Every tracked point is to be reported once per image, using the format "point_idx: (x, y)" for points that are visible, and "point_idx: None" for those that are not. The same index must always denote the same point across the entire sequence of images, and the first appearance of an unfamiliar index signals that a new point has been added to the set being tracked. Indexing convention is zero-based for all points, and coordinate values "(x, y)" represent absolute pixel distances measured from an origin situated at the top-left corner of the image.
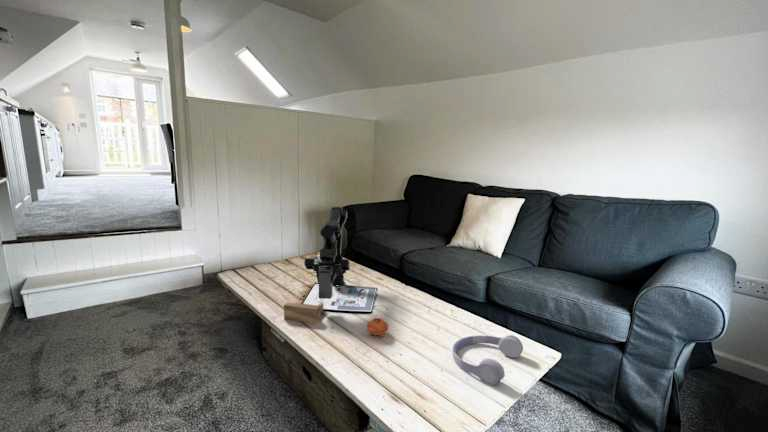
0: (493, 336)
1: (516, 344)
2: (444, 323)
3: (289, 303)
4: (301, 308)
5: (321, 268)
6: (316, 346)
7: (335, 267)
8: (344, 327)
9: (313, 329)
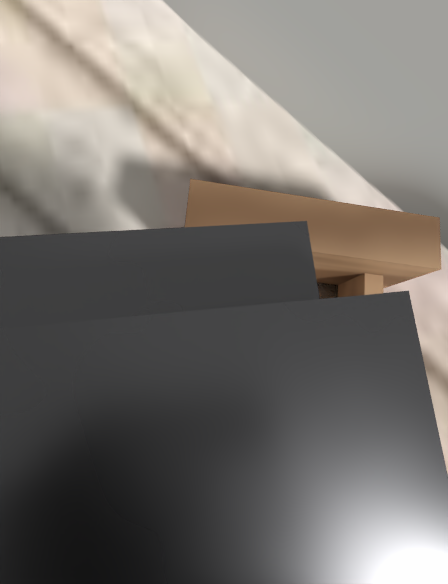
0: None
1: None
2: None
3: (416, 248)
4: (306, 201)
5: (353, 472)
6: (123, 21)
7: None
8: (7, 197)
9: (184, 161)
